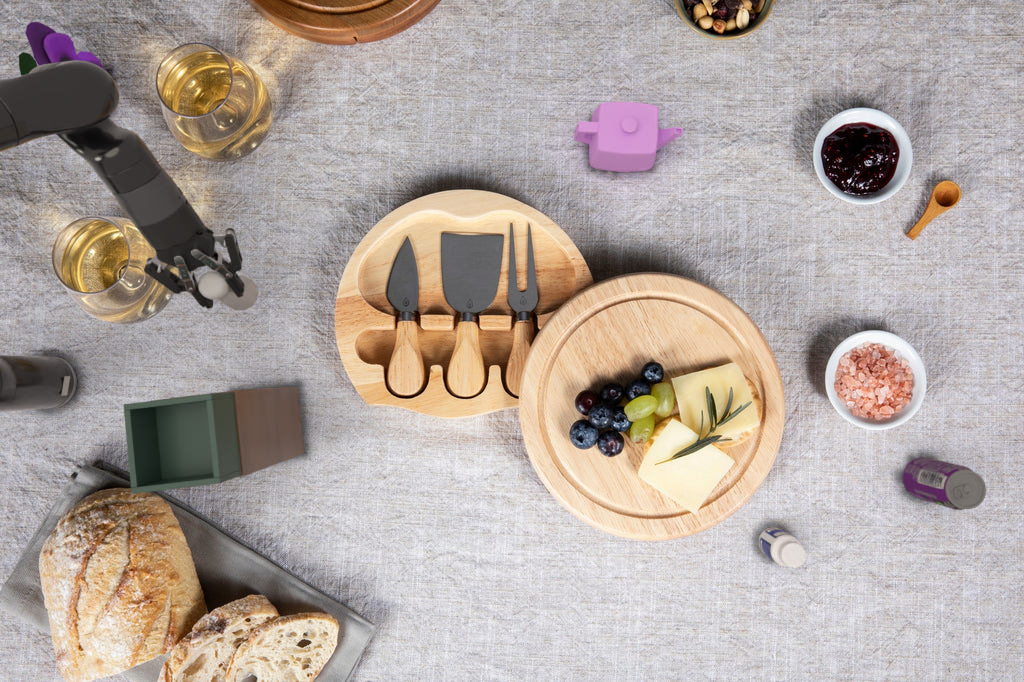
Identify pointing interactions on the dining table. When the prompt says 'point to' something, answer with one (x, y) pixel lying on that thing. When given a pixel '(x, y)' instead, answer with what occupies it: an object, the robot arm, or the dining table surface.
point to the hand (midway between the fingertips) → (226, 299)
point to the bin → (182, 442)
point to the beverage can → (944, 483)
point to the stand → (267, 426)
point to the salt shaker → (227, 290)
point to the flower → (50, 49)
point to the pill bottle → (782, 547)
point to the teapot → (624, 136)
